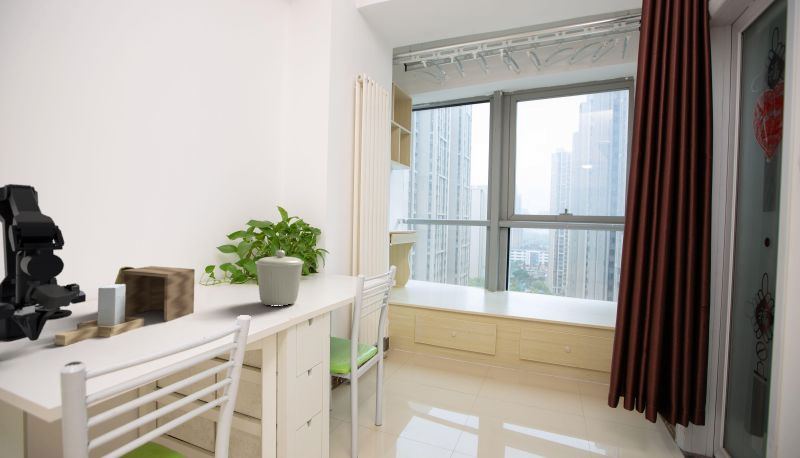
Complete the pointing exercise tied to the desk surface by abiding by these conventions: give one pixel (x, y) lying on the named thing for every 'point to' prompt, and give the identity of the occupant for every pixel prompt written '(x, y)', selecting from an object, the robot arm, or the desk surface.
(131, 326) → the wooden tray with handle
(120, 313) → the skincare box
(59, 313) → the webcam
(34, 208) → the robot arm
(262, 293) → the canister
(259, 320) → the desk surface
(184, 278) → the wooden open box
